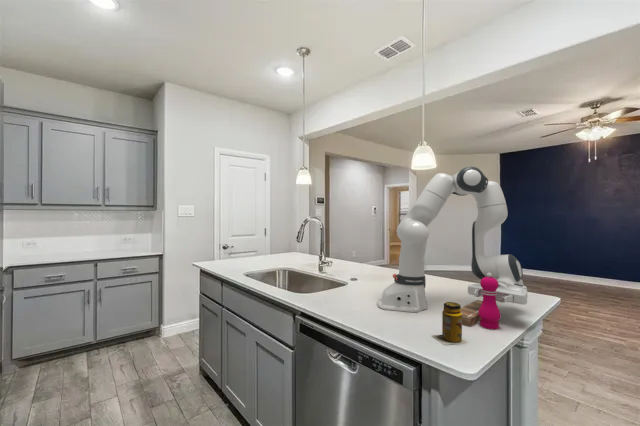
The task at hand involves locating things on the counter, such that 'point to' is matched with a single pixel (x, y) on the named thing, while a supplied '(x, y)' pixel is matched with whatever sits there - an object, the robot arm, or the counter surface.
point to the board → (471, 313)
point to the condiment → (451, 324)
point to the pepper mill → (489, 303)
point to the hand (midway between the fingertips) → (489, 297)
